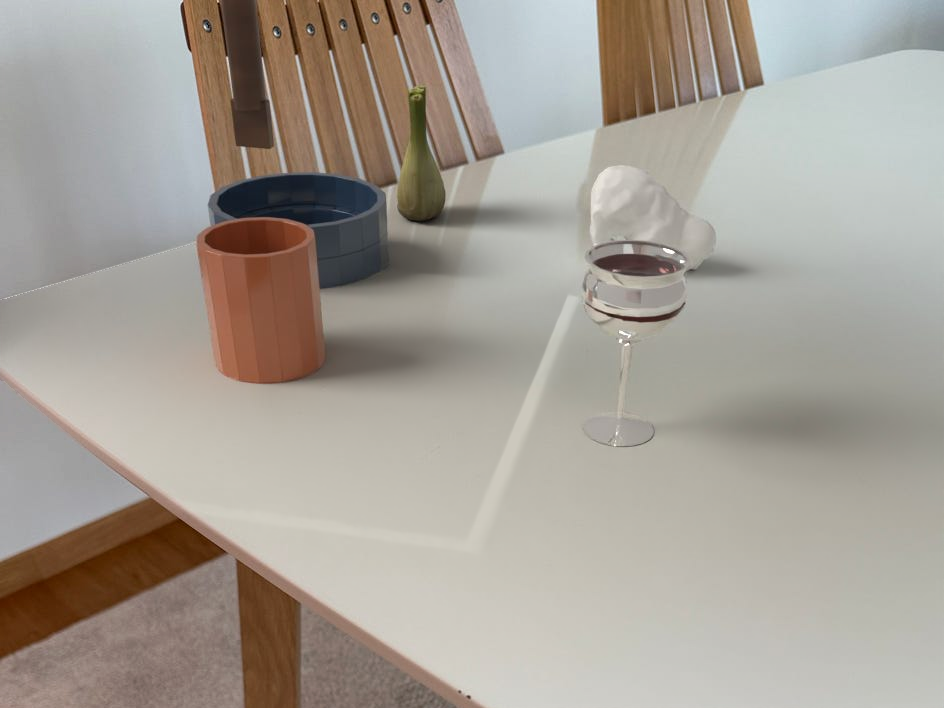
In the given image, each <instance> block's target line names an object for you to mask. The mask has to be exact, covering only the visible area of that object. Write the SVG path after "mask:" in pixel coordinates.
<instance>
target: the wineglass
mask: <svg viewBox="0 0 944 708" xmlns="http://www.w3.org/2000/svg"><path fill="white" fill-rule="evenodd" d="M614 240H615V241H609V242H603V243H600V244H598V245H595V246H594V245H591V247H590V248H589V249H587V250H585V254H584V259H585V263H586V264H587V266H588V269H587V271H586V272H585V273H584V277H583V280H582V284H581V301H582V305H583V308H584V311H585V313H586V315H587V316H588V317H589V318H590V319H591V321H592V322H593V323H594V325H596V326H597V327H598V329H599V330H600V331H601V332H603V333H604V334H606V335H608V336H610V337H614V338H615V340H616V341H617V343H618V344H619V345H621V350H620V351H621V353H620V368H619V380H618V381H619V383H618V398H617V411H609V412H601V413H596V414H594V415H592V416H590V417H588V418H587V419H585V421H584V422H583V427H582V429H583V431H584V433H585V435H587V436H588V437H589V438H590V439H592V440H593V441H596V442H598V443H599V444H603V445H608V446H613V447H633V446H638V445H641V444H645V443H646V442H648V441H649V440H651V438H652V437H653V436H654V434H655V432H654V431H655V429H654V427H653V425H652V424H651V423H650V422H649V421H648V420H646V419H645V418H643V417H641V416H638V415H637V414H633V413H628V412H624V410H625V403H626V397H627V391H628V385H629V384H628V383H629V379H630V372H631V365H632V359H633V352H634V346H637V345H638V344H639V343H640V342H641V341H642V340H646V339H650V338H653V337H655V336H658V335H659V334H660V333H661V332H663V331H664V330H666V329H667V328H668V327H670V326H671V325H673V323H675V321H676V320H677V319H678V318H679V316H680V314H681V312H682V311H683V310H684V309H685V306H686V299H687V296H688V295H687V294H688V289H687V280H686V277H685V276H684V274H685V272H687V271H686V269H688V267H689V266H690V258H689V257H688V256H687V254H686V253H684V252H683V251H681V250H679V249H677V248H675V247H672V246H669V245H666V244H663V243H657V242H652V241H644V240H626V239H617V240H616V239H614Z"/></svg>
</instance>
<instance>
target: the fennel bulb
mask: <svg viewBox="0 0 944 708" xmlns="http://www.w3.org/2000/svg"><path fill="white" fill-rule="evenodd" d="M426 95H427V86H425V85H416V86H413V88H411V89H409V91H408V92H407V98H408V112H409V125H410V127H409V128H410V129H409V130H410V133H409V140H408V144H407V148H406V151H405V154H404V158H403V162H402V165H401V169H400V174H399V178H398V182H397V183H398V184H397V194H396V198H397V207H396V208H397V211H398V213H399V214H400V215H401V217H402V218H404V219H406V220H411V221H415V222H424V221H427V220H431V219H433V218H435V217H438V216H439V215H440V214H441V213H442V212H443V210H444V207H445V204H446V200H447V199H446V195H447V193H446V187H445V184H444V180H443V178H442V177H443V176H442V174H441V172H440V169H439V167H438V164H437V162H436V160H435V157H434V155H433V153H432V150H431V147H430V145H429V142H428V137H427V103H426V102H427V97H426Z"/></svg>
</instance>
